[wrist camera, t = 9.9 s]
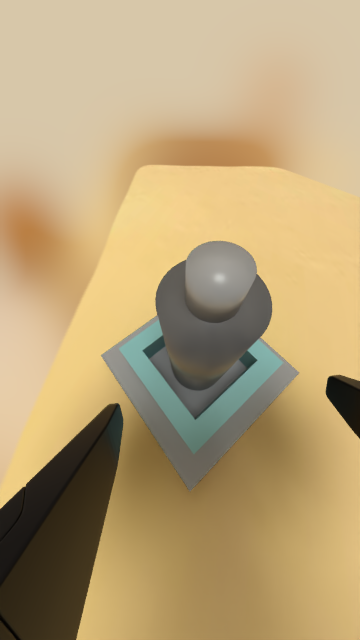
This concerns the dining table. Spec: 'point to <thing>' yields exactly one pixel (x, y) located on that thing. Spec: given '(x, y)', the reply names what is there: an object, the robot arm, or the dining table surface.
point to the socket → (195, 398)
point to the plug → (211, 312)
